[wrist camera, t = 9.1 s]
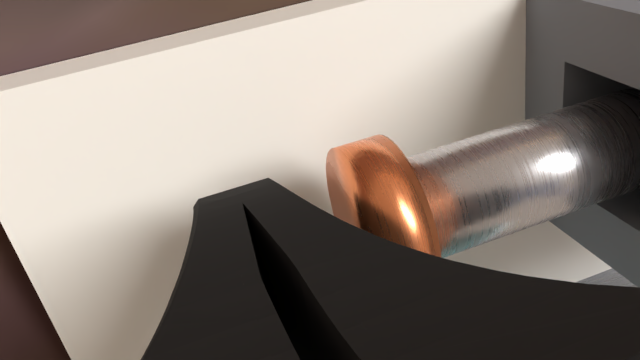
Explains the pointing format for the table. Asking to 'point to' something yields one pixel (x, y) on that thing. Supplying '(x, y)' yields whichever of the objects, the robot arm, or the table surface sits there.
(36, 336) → the table surface
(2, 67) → the table surface
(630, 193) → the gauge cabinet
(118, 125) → the base board
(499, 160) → the gauge plunger
